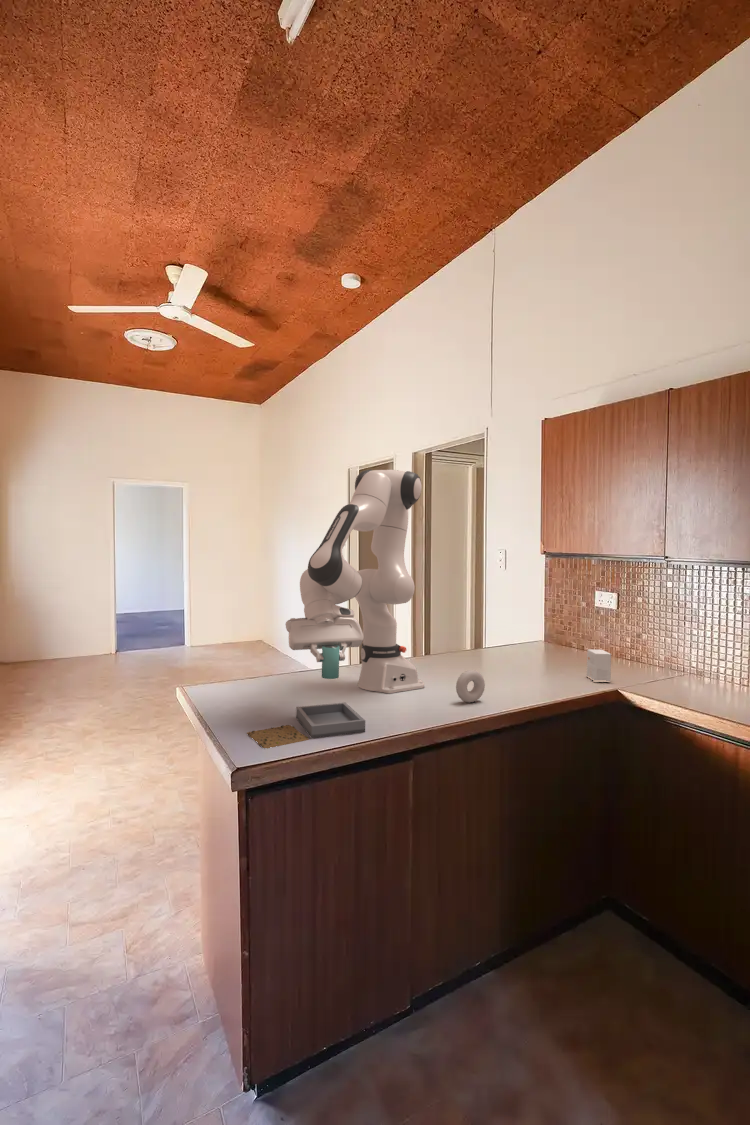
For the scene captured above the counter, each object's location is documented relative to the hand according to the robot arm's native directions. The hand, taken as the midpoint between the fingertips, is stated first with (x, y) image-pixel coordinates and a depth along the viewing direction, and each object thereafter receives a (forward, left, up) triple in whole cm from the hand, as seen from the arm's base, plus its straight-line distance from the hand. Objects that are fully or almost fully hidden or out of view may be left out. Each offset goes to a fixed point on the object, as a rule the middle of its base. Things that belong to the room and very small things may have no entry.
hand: (331, 660), depth 141 cm
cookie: (+14, +3, -18) cm, 23 cm away
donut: (-47, -7, -18) cm, 50 cm away
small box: (-106, -16, -18) cm, 108 cm away
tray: (0, -1, -17) cm, 17 cm away
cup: (0, -1, -4) cm, 5 cm away
